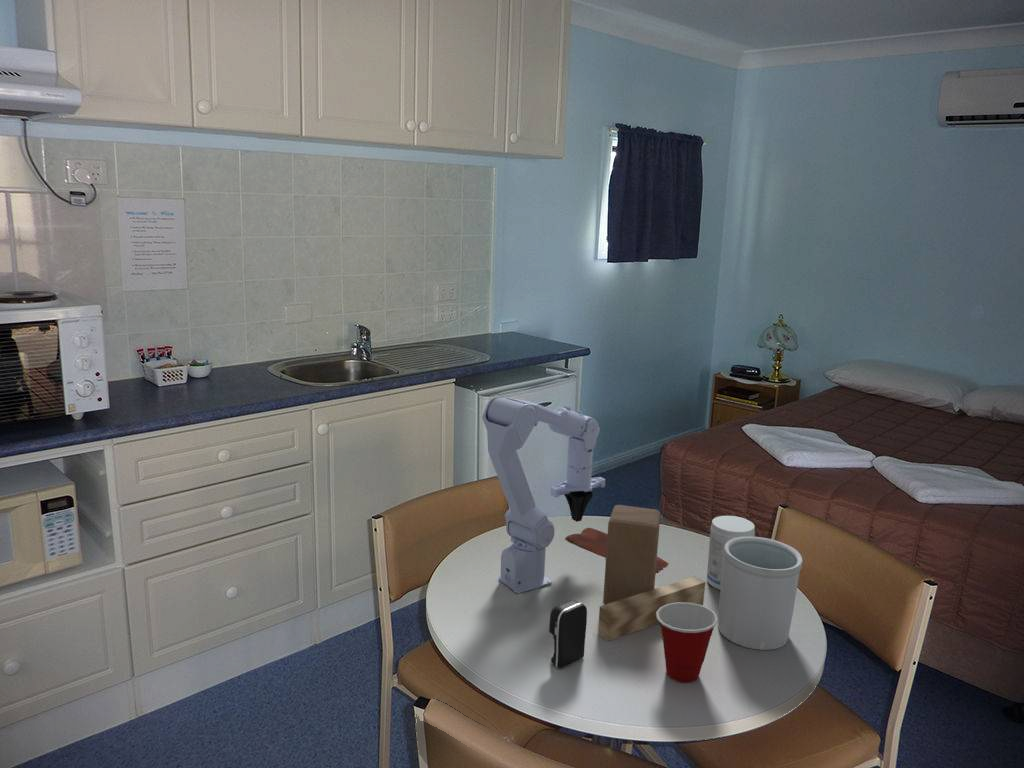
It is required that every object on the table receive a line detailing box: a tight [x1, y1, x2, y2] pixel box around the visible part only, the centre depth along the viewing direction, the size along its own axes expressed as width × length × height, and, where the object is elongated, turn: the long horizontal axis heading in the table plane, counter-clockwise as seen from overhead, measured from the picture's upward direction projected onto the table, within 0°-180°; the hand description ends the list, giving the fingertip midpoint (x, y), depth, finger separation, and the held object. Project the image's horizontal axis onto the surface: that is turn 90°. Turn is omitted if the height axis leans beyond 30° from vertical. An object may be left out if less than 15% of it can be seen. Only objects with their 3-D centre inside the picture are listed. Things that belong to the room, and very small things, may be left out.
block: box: [602, 504, 661, 605], centre depth 167 cm, size 10×10×20 cm
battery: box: [548, 599, 588, 670], centre depth 146 cm, size 7×4×11 cm, turn 131°
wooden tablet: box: [565, 527, 669, 573], centre depth 193 cm, size 27×10×2 cm, turn 45°
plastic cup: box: [656, 602, 718, 684], centre depth 143 cm, size 11×11×12 cm
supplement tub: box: [706, 515, 756, 591], centre depth 177 cm, size 10×10×15 cm
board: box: [597, 575, 706, 642], centre depth 161 cm, size 26×3×6 cm, turn 123°
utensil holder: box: [717, 536, 804, 651], centre depth 157 cm, size 15×15×18 cm
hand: (576, 519), depth 186 cm, fingers closed
